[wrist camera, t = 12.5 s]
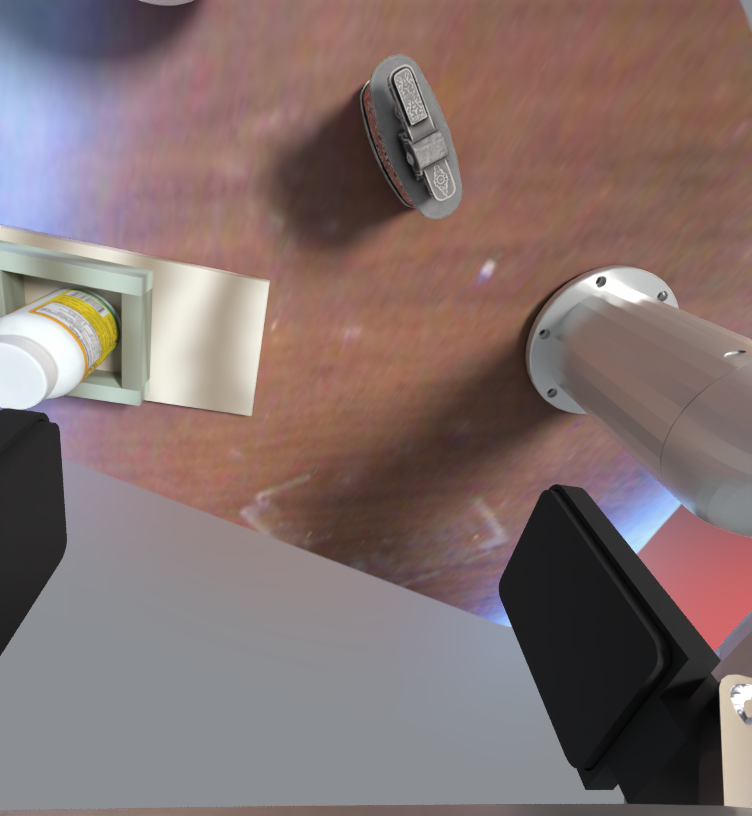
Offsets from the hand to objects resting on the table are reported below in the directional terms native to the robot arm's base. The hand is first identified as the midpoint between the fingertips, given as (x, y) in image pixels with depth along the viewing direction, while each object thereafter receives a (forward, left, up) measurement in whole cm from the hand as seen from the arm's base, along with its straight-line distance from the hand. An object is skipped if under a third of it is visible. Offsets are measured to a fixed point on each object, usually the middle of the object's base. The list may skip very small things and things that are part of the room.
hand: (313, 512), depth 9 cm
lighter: (-4, -8, -28) cm, 30 cm away
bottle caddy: (+12, +8, -28) cm, 32 cm away
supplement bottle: (+15, +8, -28) cm, 33 cm away
